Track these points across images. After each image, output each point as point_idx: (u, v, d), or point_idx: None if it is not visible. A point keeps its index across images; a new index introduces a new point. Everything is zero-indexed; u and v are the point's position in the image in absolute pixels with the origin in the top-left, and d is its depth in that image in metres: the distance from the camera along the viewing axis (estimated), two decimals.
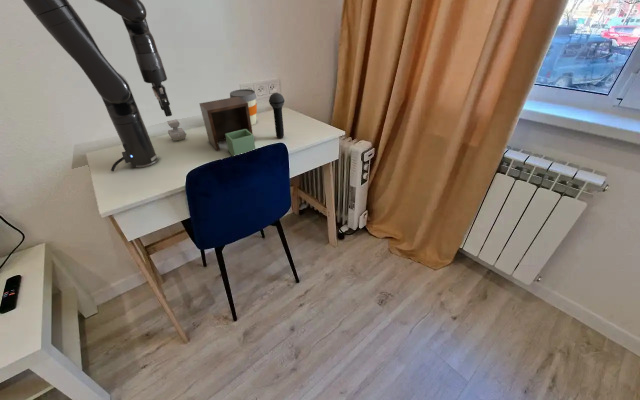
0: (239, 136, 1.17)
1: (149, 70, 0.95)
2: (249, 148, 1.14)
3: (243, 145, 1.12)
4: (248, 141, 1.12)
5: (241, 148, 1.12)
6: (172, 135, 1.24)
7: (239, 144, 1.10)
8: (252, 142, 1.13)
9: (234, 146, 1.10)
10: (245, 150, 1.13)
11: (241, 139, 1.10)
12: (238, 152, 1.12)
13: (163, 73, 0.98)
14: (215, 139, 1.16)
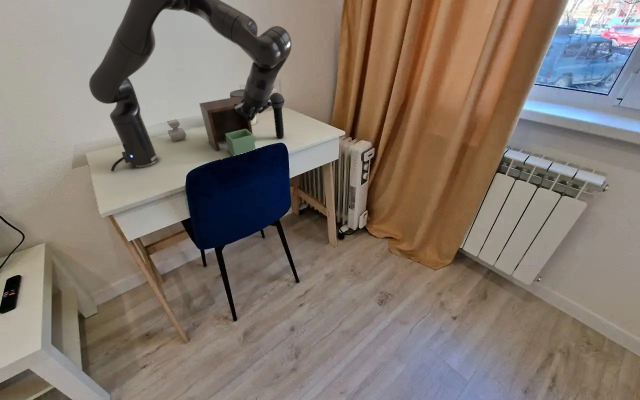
0: (239, 136, 1.17)
1: (245, 87, 0.81)
2: (249, 148, 1.14)
3: (243, 145, 1.12)
4: (248, 141, 1.12)
5: (241, 148, 1.12)
6: (172, 135, 1.24)
7: (239, 144, 1.10)
8: (252, 142, 1.13)
9: (234, 146, 1.10)
10: (245, 150, 1.13)
11: (241, 139, 1.10)
12: (238, 152, 1.12)
13: (253, 102, 0.83)
14: (215, 139, 1.16)
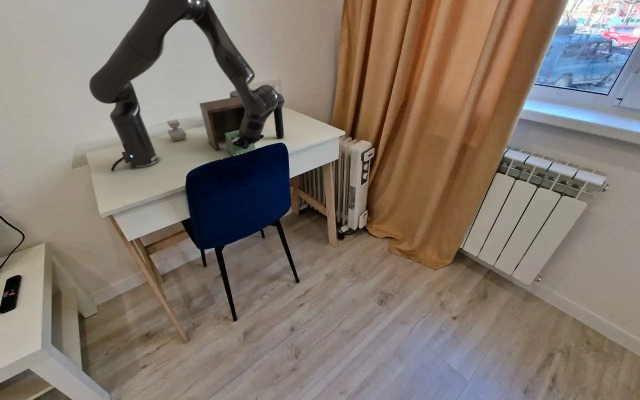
0: None
1: (240, 126, 0.96)
2: (249, 147, 1.14)
3: None
4: None
5: (241, 148, 1.12)
6: (172, 135, 1.24)
7: None
8: None
9: (234, 146, 1.10)
10: (245, 150, 1.14)
11: None
12: (238, 152, 1.12)
13: (247, 138, 0.97)
14: (215, 139, 1.16)
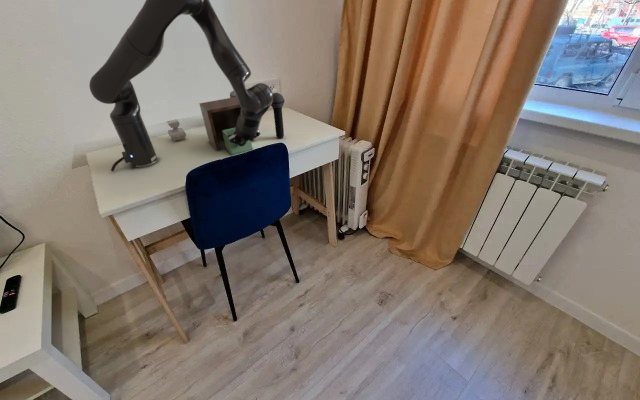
0: None
1: (236, 124, 0.98)
2: (245, 144, 1.17)
3: None
4: None
5: (238, 144, 1.15)
6: (172, 135, 1.24)
7: None
8: None
9: None
10: (242, 146, 1.16)
11: None
12: (235, 148, 1.15)
13: (243, 135, 1.00)
14: (215, 139, 1.16)
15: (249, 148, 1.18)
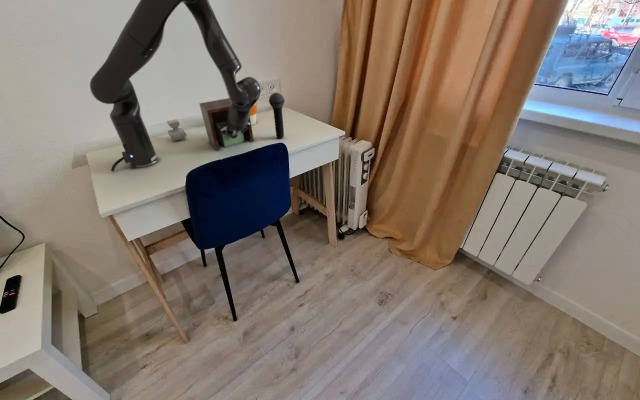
0: None
1: None
2: (238, 136, 1.23)
3: None
4: None
5: (230, 137, 1.21)
6: (172, 135, 1.24)
7: None
8: None
9: (223, 135, 1.19)
10: (234, 139, 1.22)
11: None
12: (227, 140, 1.21)
13: (234, 127, 1.06)
14: (215, 139, 1.16)
15: (241, 140, 1.25)
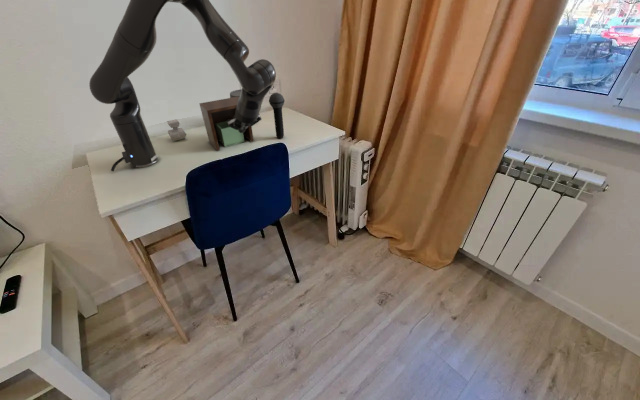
0: None
1: (236, 107, 0.92)
2: (238, 136, 1.23)
3: (231, 133, 1.21)
4: (237, 130, 1.21)
5: (230, 137, 1.21)
6: (172, 135, 1.24)
7: (228, 133, 1.20)
8: None
9: (223, 135, 1.19)
10: (234, 139, 1.22)
11: (230, 128, 1.19)
12: (227, 140, 1.21)
13: (244, 119, 0.94)
14: (215, 139, 1.16)
15: (241, 140, 1.25)
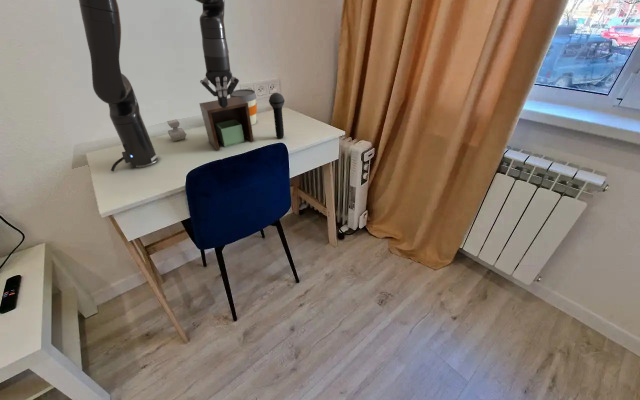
0: (229, 126, 1.26)
1: (204, 54, 0.89)
2: (238, 136, 1.23)
3: (231, 133, 1.21)
4: (237, 130, 1.21)
5: (230, 137, 1.21)
6: (172, 135, 1.24)
7: (228, 133, 1.20)
8: (240, 131, 1.22)
9: (223, 135, 1.19)
10: (234, 139, 1.22)
11: (230, 128, 1.19)
12: (227, 140, 1.21)
13: (212, 63, 0.88)
14: (215, 139, 1.16)
15: (241, 140, 1.25)
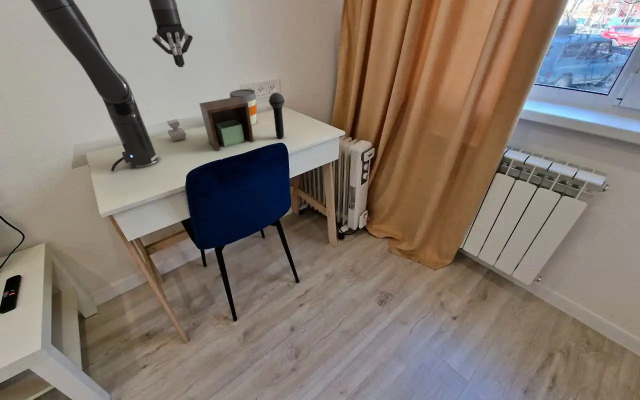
0: (229, 126, 1.26)
1: None
2: (238, 136, 1.23)
3: (231, 133, 1.21)
4: (237, 130, 1.21)
5: (230, 137, 1.21)
6: (172, 135, 1.24)
7: (228, 133, 1.20)
8: (240, 131, 1.22)
9: (223, 135, 1.19)
10: (234, 139, 1.22)
11: (230, 128, 1.19)
12: (227, 140, 1.21)
13: (159, 16, 0.87)
14: (215, 139, 1.16)
15: (241, 140, 1.25)
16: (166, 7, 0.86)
